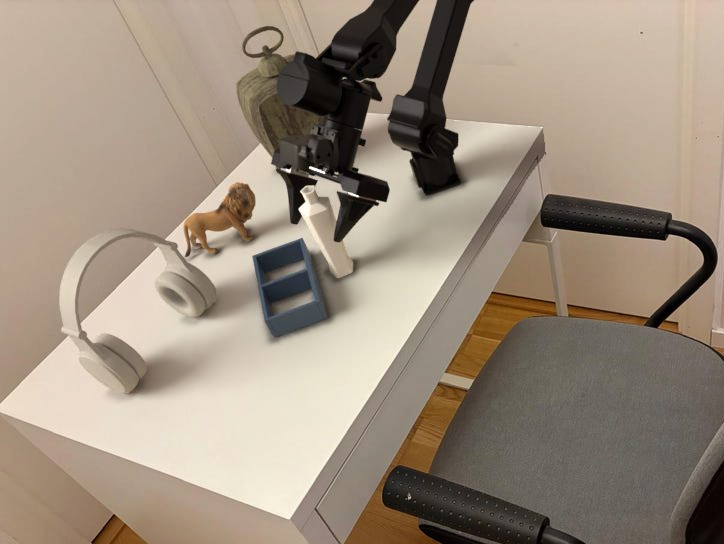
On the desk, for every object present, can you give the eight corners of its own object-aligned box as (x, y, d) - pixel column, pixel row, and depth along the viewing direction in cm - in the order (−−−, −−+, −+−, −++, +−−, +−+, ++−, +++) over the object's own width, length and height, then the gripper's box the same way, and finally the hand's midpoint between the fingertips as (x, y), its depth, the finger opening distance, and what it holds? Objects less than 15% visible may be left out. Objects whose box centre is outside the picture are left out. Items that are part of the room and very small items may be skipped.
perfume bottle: (328, 262, 116) (292, 183, 104) (355, 256, 115) (322, 177, 104) (326, 282, 113) (289, 203, 101) (354, 276, 112) (320, 196, 101)
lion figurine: (265, 215, 127) (243, 172, 120) (273, 232, 123) (251, 187, 117) (183, 251, 124) (156, 209, 118) (189, 269, 121) (162, 226, 114)
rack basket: (310, 254, 118) (302, 237, 115) (328, 318, 107) (319, 301, 105) (261, 272, 117) (252, 255, 115) (274, 338, 107) (264, 321, 104)
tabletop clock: (339, 136, 139) (289, 3, 121) (358, 156, 134) (309, 20, 115) (269, 170, 136) (207, 38, 118) (286, 192, 130) (223, 57, 112)
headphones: (189, 292, 117) (123, 193, 103) (228, 303, 113) (165, 203, 99) (98, 387, 107) (11, 291, 92) (138, 402, 103) (53, 306, 89)
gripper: (253, 96, 101) (228, 207, 105) (348, 124, 92) (317, 245, 95) (313, 116, 111) (288, 218, 114) (405, 144, 101) (375, 254, 105)
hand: (314, 232), depth 107 cm, fingers open, 9 cm apart
